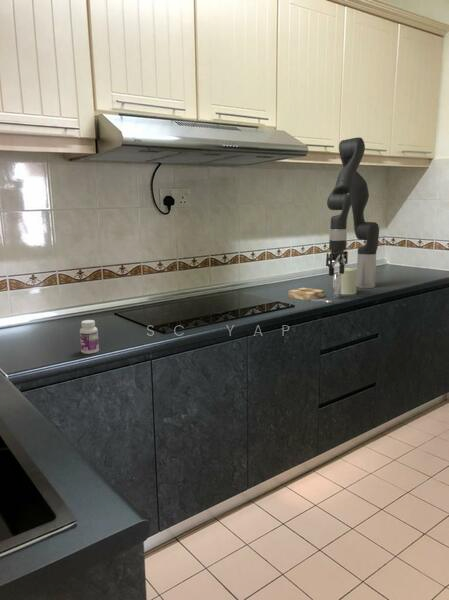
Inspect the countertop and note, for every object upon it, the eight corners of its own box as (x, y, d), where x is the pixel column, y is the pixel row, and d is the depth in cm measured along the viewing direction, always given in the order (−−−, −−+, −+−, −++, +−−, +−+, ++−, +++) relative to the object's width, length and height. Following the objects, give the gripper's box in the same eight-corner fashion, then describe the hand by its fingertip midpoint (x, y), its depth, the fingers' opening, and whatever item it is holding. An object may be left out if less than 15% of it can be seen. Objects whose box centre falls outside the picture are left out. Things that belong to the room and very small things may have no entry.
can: (357, 294, 231) (358, 269, 228) (337, 294, 232) (338, 269, 230) (356, 291, 239) (356, 267, 237) (336, 290, 241) (337, 267, 239)
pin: (335, 296, 227) (336, 273, 224) (342, 297, 224) (342, 274, 222) (331, 297, 224) (331, 274, 222) (337, 298, 222) (338, 275, 219)
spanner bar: (309, 300, 219) (309, 298, 219) (313, 299, 221) (313, 297, 221) (329, 303, 212) (329, 301, 212) (333, 302, 214) (333, 300, 214)
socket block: (303, 293, 236) (303, 287, 235) (324, 296, 228) (324, 290, 227) (288, 297, 227) (288, 290, 227) (309, 300, 219) (309, 294, 219)
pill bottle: (77, 351, 150) (75, 321, 148) (92, 347, 154) (90, 318, 152) (87, 355, 146) (85, 324, 144) (102, 351, 150) (100, 320, 148)
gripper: (339, 238, 226) (337, 272, 229) (321, 239, 216) (320, 275, 220) (353, 238, 221) (351, 273, 224) (336, 240, 211) (335, 277, 214)
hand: (336, 274), depth 222 cm, fingers open, 8 cm apart
